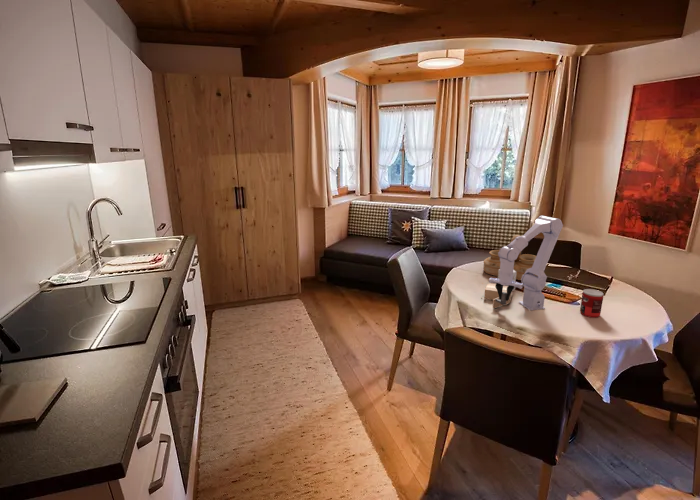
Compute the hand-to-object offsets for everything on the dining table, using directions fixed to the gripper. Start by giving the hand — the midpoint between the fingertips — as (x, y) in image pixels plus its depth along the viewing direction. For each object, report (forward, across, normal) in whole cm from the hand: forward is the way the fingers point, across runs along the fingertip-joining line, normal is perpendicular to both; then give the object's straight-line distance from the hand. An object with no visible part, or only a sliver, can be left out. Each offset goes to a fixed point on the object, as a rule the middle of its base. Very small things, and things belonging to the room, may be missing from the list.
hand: (503, 299), depth 172 cm
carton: (+6, -7, +16) cm, 18 cm away
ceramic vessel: (+7, -9, +53) cm, 54 cm away
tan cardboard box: (+6, 0, +5) cm, 8 cm away
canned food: (+6, +34, +18) cm, 39 cm away
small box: (+6, -6, +30) cm, 31 cm away
